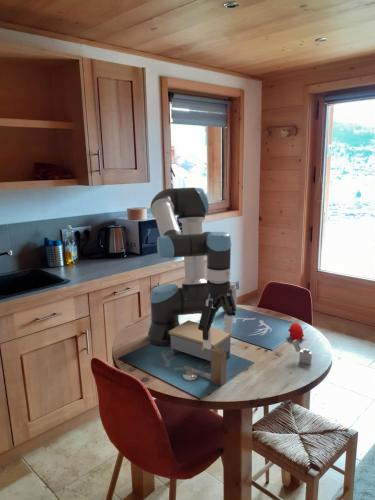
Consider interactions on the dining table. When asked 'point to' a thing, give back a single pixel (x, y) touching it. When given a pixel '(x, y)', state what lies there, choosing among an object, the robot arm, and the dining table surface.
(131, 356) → the dining table surface
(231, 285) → the energy drink can
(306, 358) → the lighter
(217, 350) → the blade tool
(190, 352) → the cabinet
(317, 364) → the dining table surface
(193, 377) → the steel token
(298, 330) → the red egg shape
